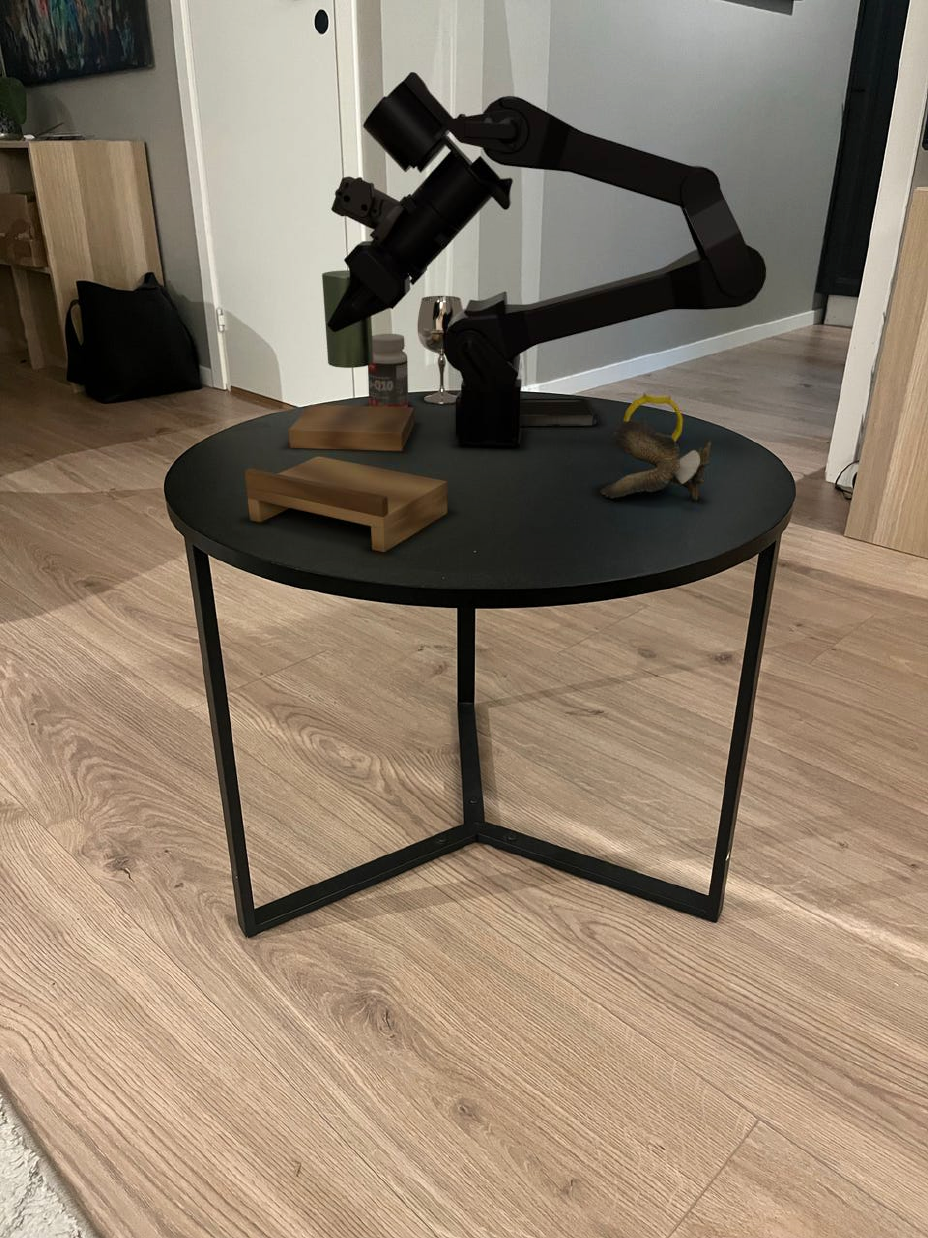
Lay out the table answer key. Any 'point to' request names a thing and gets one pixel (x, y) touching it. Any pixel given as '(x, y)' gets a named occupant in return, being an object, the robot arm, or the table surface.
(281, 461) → the table surface
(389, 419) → the wooden block
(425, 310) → the wineglass
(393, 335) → the pill bottle
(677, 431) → the watch
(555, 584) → the table surface
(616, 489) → the eagle figurine
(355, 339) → the green tumbler
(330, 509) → the shelf
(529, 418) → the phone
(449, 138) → the robot arm
